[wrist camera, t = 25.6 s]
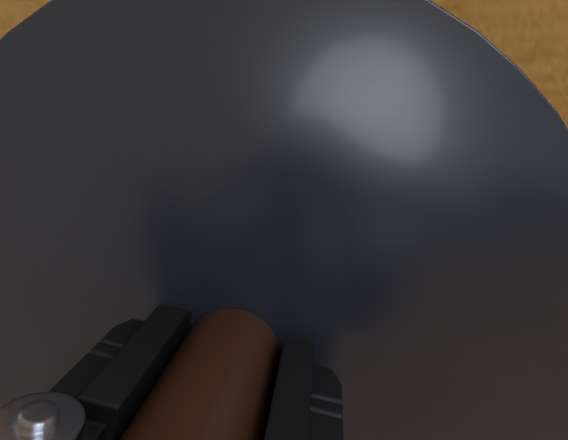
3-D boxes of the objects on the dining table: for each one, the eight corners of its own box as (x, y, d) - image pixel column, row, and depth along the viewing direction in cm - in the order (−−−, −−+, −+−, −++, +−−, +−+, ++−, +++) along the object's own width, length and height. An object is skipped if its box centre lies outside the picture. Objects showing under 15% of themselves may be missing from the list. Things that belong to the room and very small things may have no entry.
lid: (732, 60, 9) (1603, -50, 3) (461, 640, 14) (566, 1071, 7) (-61, -105, 10) (-709, -460, 4) (-60, 494, 14) (-344, 773, 8)
